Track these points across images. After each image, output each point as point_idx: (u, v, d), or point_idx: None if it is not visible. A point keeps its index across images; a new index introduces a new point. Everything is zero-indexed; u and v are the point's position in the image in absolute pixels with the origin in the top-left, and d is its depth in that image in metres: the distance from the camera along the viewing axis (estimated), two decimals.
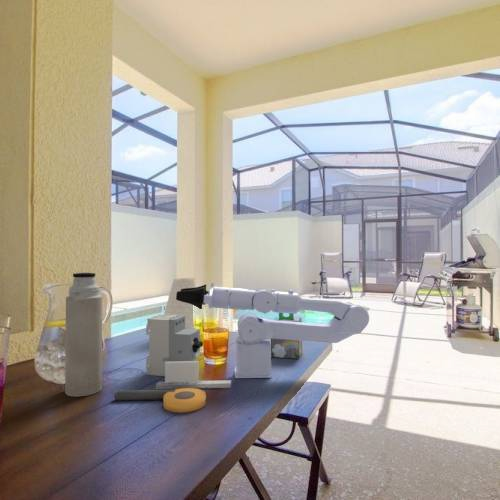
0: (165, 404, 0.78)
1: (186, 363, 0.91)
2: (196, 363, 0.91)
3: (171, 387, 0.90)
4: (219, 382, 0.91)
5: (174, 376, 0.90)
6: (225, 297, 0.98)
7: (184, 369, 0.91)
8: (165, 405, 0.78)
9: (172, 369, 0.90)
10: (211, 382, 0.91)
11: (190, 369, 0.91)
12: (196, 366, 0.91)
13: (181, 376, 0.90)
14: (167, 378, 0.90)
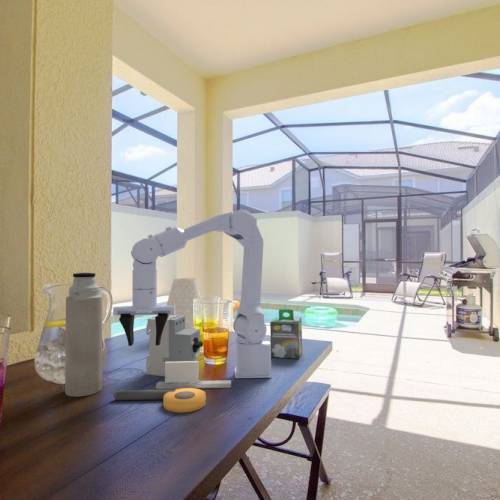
0: (165, 404, 0.78)
1: (186, 363, 0.91)
2: (196, 363, 0.91)
3: (171, 387, 0.90)
4: (219, 382, 0.91)
5: (174, 376, 0.90)
6: (155, 292, 0.90)
7: (184, 369, 0.91)
8: (165, 405, 0.78)
9: (172, 369, 0.90)
10: (211, 382, 0.91)
11: (190, 369, 0.91)
12: (196, 366, 0.91)
13: (181, 376, 0.90)
14: (167, 378, 0.90)
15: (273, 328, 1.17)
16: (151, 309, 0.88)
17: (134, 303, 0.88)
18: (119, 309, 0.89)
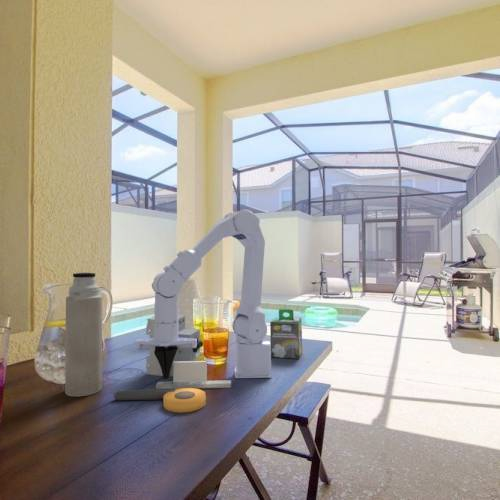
0: (165, 404, 0.78)
1: (194, 363, 0.91)
2: (204, 363, 0.91)
3: (171, 387, 0.90)
4: (219, 382, 0.91)
5: (182, 376, 0.90)
6: (177, 325, 0.91)
7: (192, 369, 0.91)
8: (165, 405, 0.78)
9: (180, 369, 0.91)
10: (211, 382, 0.91)
11: (198, 369, 0.91)
12: (204, 366, 0.91)
13: (190, 376, 0.91)
14: (175, 378, 0.90)
15: (273, 328, 1.17)
16: (173, 343, 0.88)
17: (157, 336, 0.89)
18: (141, 342, 0.89)
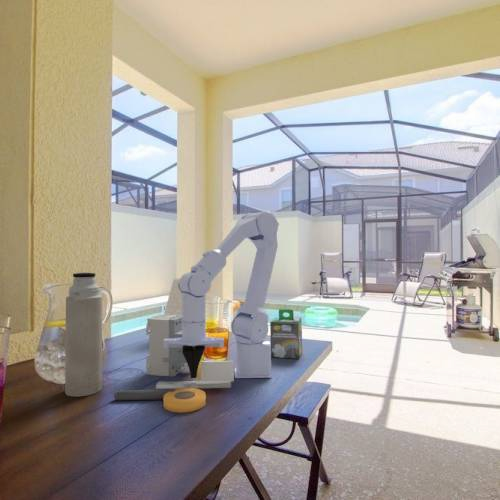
0: (165, 404, 0.78)
1: (222, 362, 0.91)
2: (232, 362, 0.91)
3: (171, 387, 0.90)
4: (219, 382, 0.91)
5: (210, 375, 0.91)
6: (205, 325, 0.91)
7: (220, 368, 0.91)
8: (165, 405, 0.78)
9: (208, 368, 0.91)
10: (211, 382, 0.91)
11: (226, 368, 0.91)
12: (232, 365, 0.91)
13: (217, 376, 0.91)
14: (203, 377, 0.91)
15: (273, 328, 1.17)
16: (202, 342, 0.89)
17: (185, 336, 0.89)
18: (169, 342, 0.90)
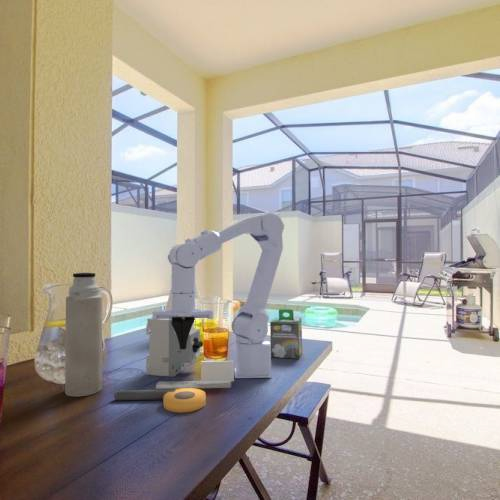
0: (165, 404, 0.78)
1: (222, 362, 0.91)
2: (232, 362, 0.91)
3: (171, 387, 0.90)
4: (219, 382, 0.91)
5: (210, 375, 0.91)
6: (194, 296, 0.91)
7: (220, 368, 0.91)
8: (165, 405, 0.78)
9: (208, 368, 0.91)
10: (211, 382, 0.91)
11: (226, 368, 0.91)
12: (232, 365, 0.91)
13: (217, 376, 0.91)
14: (203, 377, 0.91)
15: (273, 328, 1.17)
16: (191, 313, 0.89)
17: (174, 307, 0.89)
18: (158, 313, 0.90)
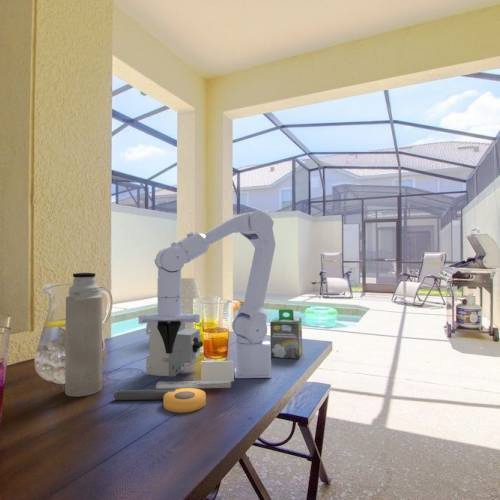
0: (165, 404, 0.78)
1: (222, 362, 0.91)
2: (232, 362, 0.91)
3: (171, 387, 0.90)
4: (219, 382, 0.91)
5: (210, 375, 0.91)
6: (180, 300, 0.91)
7: (220, 368, 0.91)
8: (165, 405, 0.78)
9: (208, 368, 0.91)
10: (211, 382, 0.91)
11: (226, 368, 0.91)
12: (232, 365, 0.91)
13: (217, 376, 0.91)
14: (203, 377, 0.91)
15: (273, 328, 1.17)
16: (176, 317, 0.89)
17: (160, 311, 0.89)
18: (144, 317, 0.89)
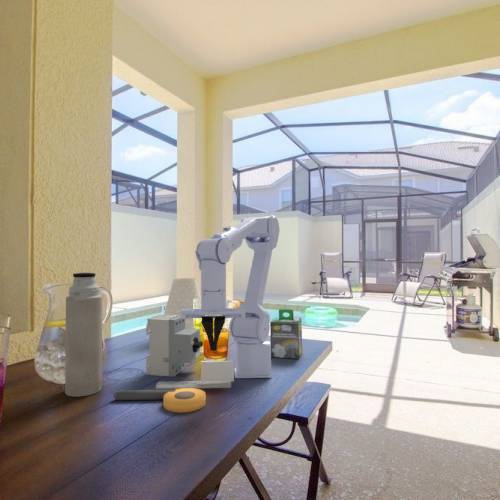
0: (165, 404, 0.78)
1: (222, 362, 0.91)
2: (232, 362, 0.91)
3: (171, 387, 0.90)
4: (219, 382, 0.91)
5: (210, 375, 0.91)
6: (225, 294, 0.85)
7: (220, 368, 0.91)
8: (165, 405, 0.78)
9: (208, 368, 0.91)
10: (211, 382, 0.91)
11: (226, 368, 0.91)
12: (232, 365, 0.91)
13: (217, 376, 0.91)
14: (203, 377, 0.91)
15: (273, 328, 1.17)
16: (222, 312, 0.83)
17: (204, 306, 0.83)
18: (188, 312, 0.84)
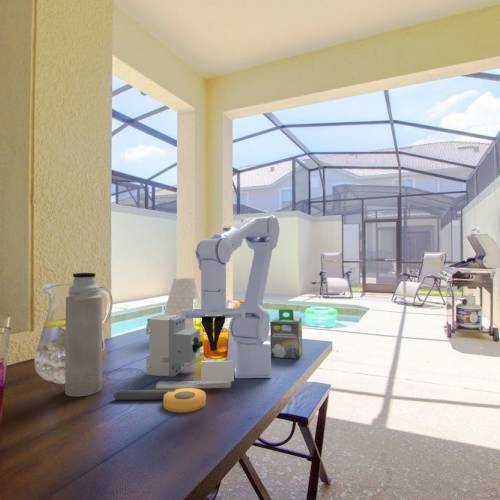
0: (165, 404, 0.78)
1: (222, 362, 0.91)
2: (232, 362, 0.91)
3: (171, 387, 0.90)
4: (219, 382, 0.91)
5: (210, 375, 0.91)
6: (225, 294, 0.85)
7: (220, 368, 0.91)
8: (165, 405, 0.78)
9: (208, 368, 0.91)
10: (211, 382, 0.91)
11: (226, 368, 0.91)
12: (232, 365, 0.91)
13: (217, 376, 0.91)
14: (203, 377, 0.91)
15: (273, 328, 1.17)
16: (222, 312, 0.83)
17: (204, 306, 0.83)
18: (188, 312, 0.84)
